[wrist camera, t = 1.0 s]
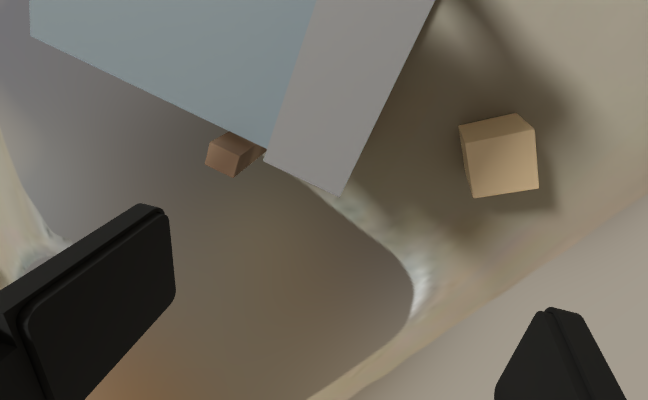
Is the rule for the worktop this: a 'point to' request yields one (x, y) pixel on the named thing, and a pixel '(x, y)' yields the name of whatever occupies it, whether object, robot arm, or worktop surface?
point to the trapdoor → (253, 66)
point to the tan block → (499, 155)
